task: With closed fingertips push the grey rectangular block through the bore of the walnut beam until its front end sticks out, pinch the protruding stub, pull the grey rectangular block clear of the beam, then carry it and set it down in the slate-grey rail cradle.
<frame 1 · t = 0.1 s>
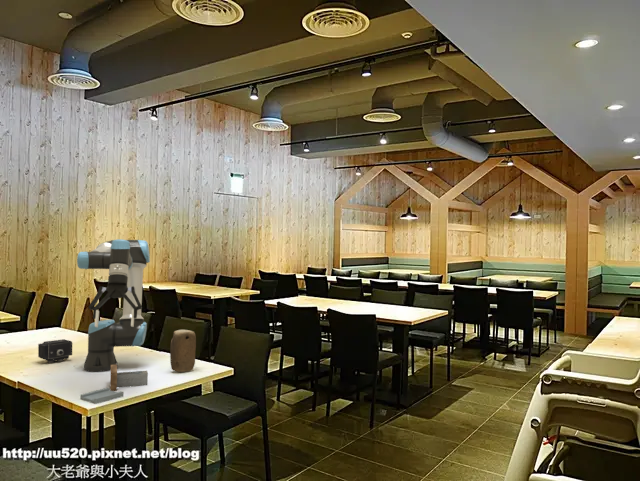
hand: (114, 326, 204), 28 cm above the table, tool tilted 20°, fingers open, 13 cm apart
beam: (113, 386, 216), on the table
stone: (182, 371, 245), on the table
cradle: (101, 397, 200), on the table
camera: (55, 362, 260), on the table
grey rectangular block: (130, 379, 219), point 3 cm above the table
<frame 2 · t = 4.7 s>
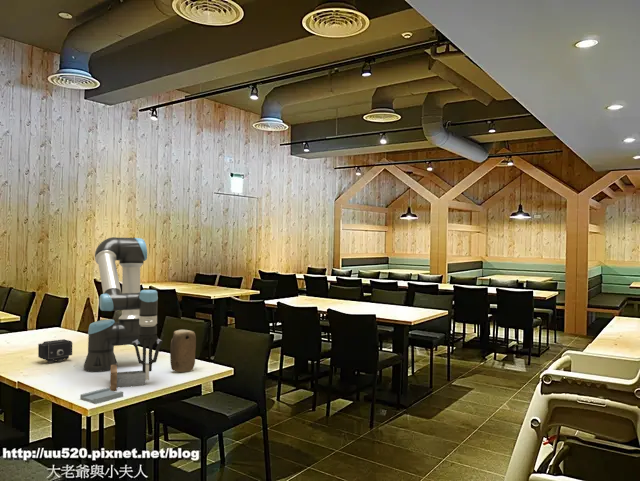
hand: (146, 378, 222), 2 cm above the table, tool pointing down, fingers closed
grey rectangular block: (128, 379, 219), point 3 cm above the table, touching gripper
everything else where it was.
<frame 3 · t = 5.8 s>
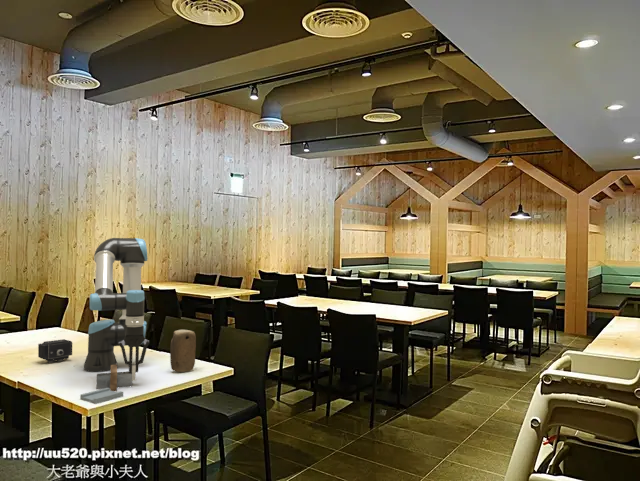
hand: (133, 379, 220), 2 cm above the table, tool pointing down, fingers closed
grey rectangular block: (114, 380, 216), point 3 cm above the table, touching gripper
everything else where it was.
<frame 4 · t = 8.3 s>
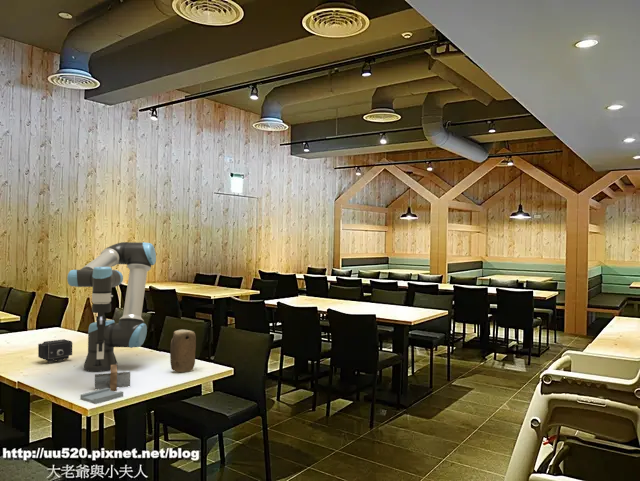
hand: (100, 357, 215), 13 cm above the table, tool pointing down, fingers open, 6 cm apart
grey rectangular block: (112, 380, 216), point 2 cm above the table
everything else where it was.
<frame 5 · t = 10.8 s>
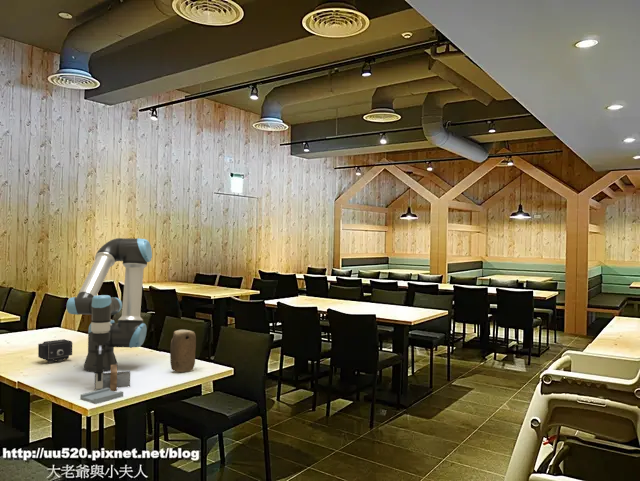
hand: (99, 386, 214), 0 cm above the table, tool pointing down, fingers closed on grey rectangular block, 5 cm apart
grey rectangular block: (112, 380, 216), point 3 cm above the table, touching gripper
everything else where it was.
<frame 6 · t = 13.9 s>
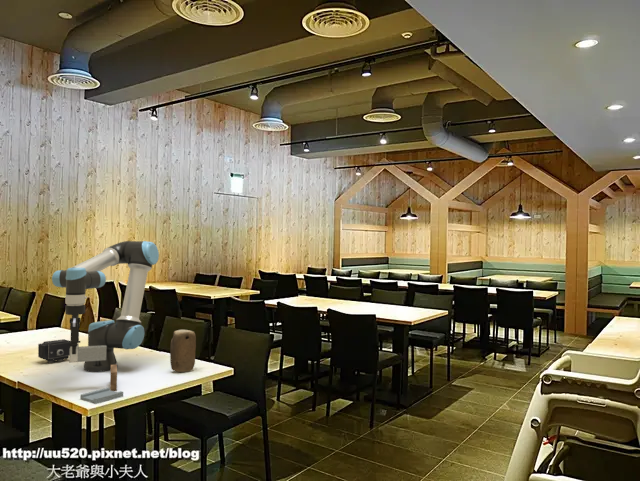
hand: (74, 360, 211), 12 cm above the table, tool pointing down, fingers closed on grey rectangular block, 4 cm apart
grey rectangular block: (88, 353, 213), point 15 cm above the table, touching gripper
everything else where it was.
when the fingers open (2 cm above the table, at t = 17.2 s): grey rectangular block stays where it is, resting on cradle.
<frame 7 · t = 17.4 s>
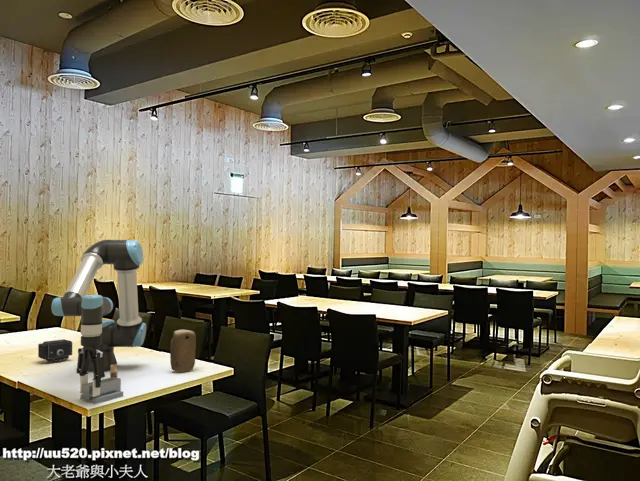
hand: (89, 393, 196), 3 cm above the table, tool pointing down, fingers open, 7 cm apart
grey rectangular block: (101, 388, 200), point 4 cm above the table, touching cradle
everything else where it was.
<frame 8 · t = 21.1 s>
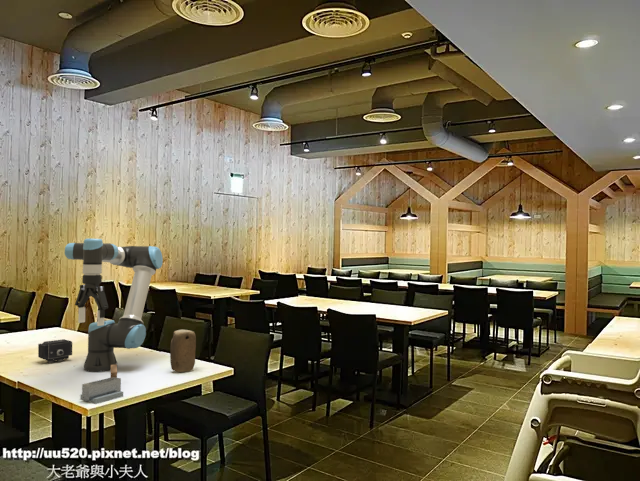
hand: (91, 324, 216), 27 cm above the table, tool pointing down, fingers open, 13 cm apart
nothing on the table moved.
at the end: grey rectangular block inside the target area on the cradle (0.1 cm from its centre), point 3.7 cm above the cradle's base; the gripper is holding nothing; grey rectangular block moved 19.3 cm from its start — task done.
